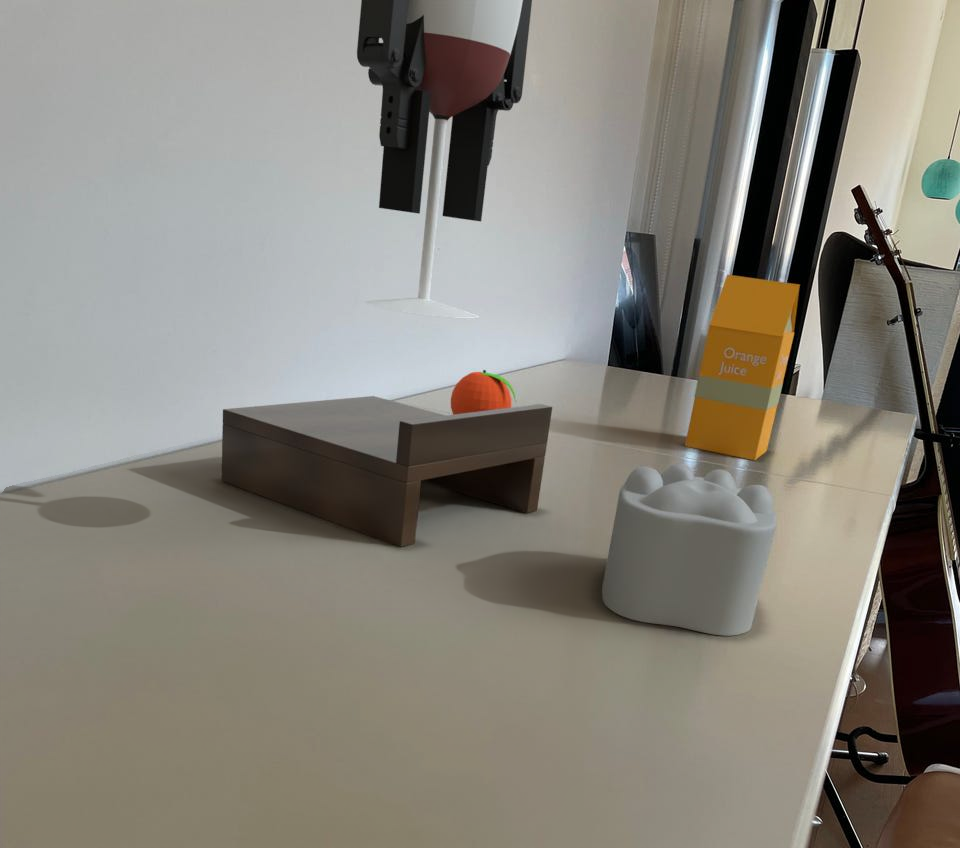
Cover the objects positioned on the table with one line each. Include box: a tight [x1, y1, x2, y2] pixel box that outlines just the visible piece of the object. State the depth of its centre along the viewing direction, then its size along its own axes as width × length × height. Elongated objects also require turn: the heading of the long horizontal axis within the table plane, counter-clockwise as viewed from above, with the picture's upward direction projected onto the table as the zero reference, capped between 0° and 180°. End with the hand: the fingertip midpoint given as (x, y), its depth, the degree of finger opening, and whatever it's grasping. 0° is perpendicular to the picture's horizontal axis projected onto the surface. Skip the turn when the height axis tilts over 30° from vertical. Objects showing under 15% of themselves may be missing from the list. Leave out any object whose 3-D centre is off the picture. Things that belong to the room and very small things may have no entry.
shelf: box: [221, 395, 553, 548], centre depth 82 cm, size 20×18×9 cm
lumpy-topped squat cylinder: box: [601, 463, 777, 637], centre depth 68 cm, size 10×13×9 cm
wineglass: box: [364, 0, 523, 320], centre depth 61 cm, size 8×9×20 cm
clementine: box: [450, 369, 517, 415], centre depth 112 cm, size 8×7×7 cm
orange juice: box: [684, 274, 801, 461], centre depth 119 cm, size 8×9×20 cm
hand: (431, 214), depth 63 cm, fingers closed on wineglass, 5 cm apart
